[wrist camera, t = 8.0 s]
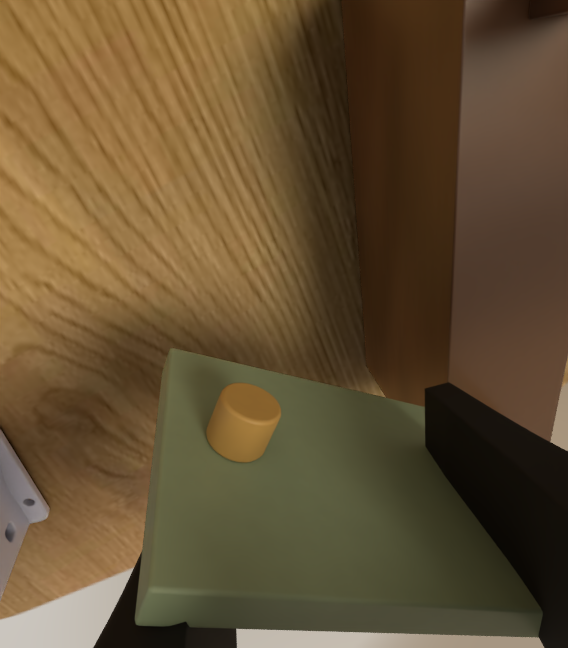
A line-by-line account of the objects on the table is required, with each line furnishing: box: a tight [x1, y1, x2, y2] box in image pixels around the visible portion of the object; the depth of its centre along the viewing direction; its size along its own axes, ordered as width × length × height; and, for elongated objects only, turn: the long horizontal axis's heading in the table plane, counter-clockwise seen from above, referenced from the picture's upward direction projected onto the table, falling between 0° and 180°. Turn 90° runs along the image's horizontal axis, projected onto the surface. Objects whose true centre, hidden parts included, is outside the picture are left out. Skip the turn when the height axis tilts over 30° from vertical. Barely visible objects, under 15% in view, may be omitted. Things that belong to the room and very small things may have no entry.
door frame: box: [341, 0, 568, 442], centre depth 12 cm, size 16×4×15 cm, turn 9°
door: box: [135, 348, 543, 637], centre depth 10 cm, size 12×2×6 cm, turn 68°
